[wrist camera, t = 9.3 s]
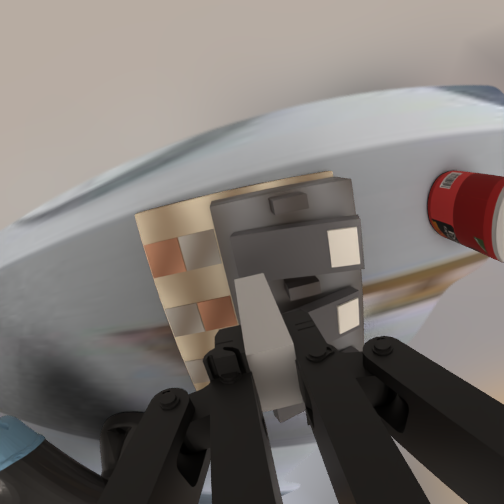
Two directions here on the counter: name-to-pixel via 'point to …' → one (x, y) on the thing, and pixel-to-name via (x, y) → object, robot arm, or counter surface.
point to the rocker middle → (335, 313)
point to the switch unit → (223, 262)
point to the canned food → (469, 211)
